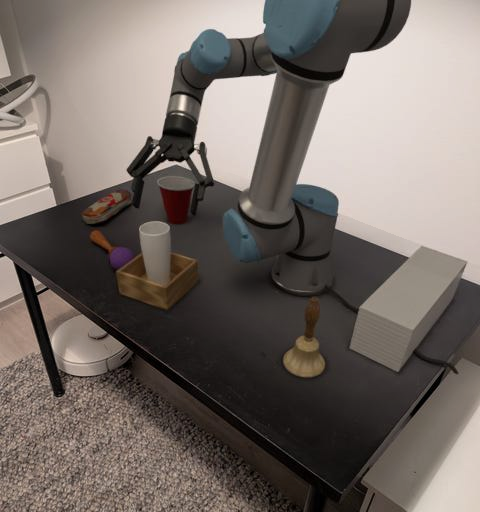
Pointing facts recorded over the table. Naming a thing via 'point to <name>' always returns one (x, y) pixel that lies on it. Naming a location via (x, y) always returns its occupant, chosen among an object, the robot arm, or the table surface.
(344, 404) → the table surface
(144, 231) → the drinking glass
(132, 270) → the bin
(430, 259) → the stack of papers
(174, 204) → the plastic cup
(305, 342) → the hand bell
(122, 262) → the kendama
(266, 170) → the robot arm
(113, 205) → the pencil case
